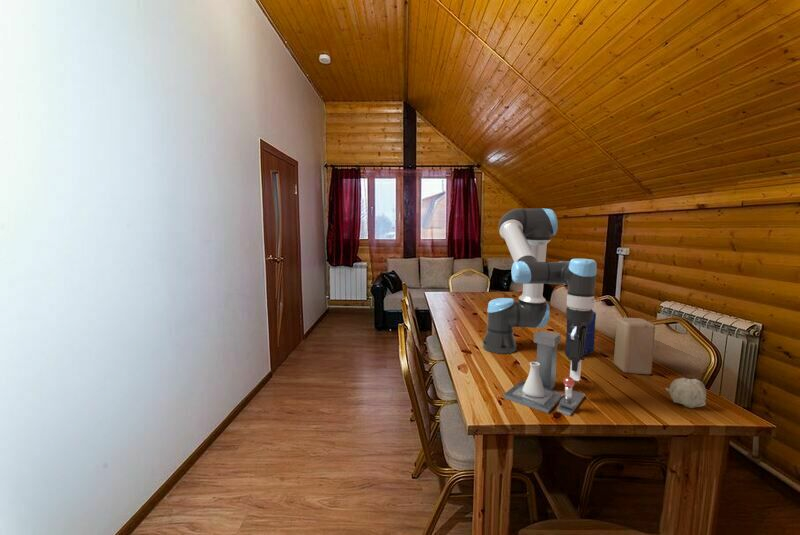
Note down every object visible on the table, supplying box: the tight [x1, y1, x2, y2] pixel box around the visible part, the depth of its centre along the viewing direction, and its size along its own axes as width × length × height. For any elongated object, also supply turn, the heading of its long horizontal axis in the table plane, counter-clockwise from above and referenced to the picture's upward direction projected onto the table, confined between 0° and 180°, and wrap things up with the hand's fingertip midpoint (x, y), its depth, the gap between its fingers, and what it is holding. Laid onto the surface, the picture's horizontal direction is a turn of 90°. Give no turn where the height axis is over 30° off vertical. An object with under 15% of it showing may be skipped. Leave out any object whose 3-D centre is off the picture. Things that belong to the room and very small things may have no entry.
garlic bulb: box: [665, 377, 707, 409], centre depth 105 cm, size 9×8×10 cm
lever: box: [558, 376, 576, 409], centre depth 103 cm, size 4×4×9 cm
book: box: [564, 311, 597, 357], centre depth 148 cm, size 14×5×20 cm, turn 115°
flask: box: [522, 361, 545, 397], centre depth 110 cm, size 7×7×10 cm
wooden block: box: [613, 316, 656, 375], centre depth 133 cm, size 10×10×20 cm
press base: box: [503, 330, 586, 417], centre depth 110 cm, size 19×20×19 cm
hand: (574, 379), depth 108 cm, fingers closed
